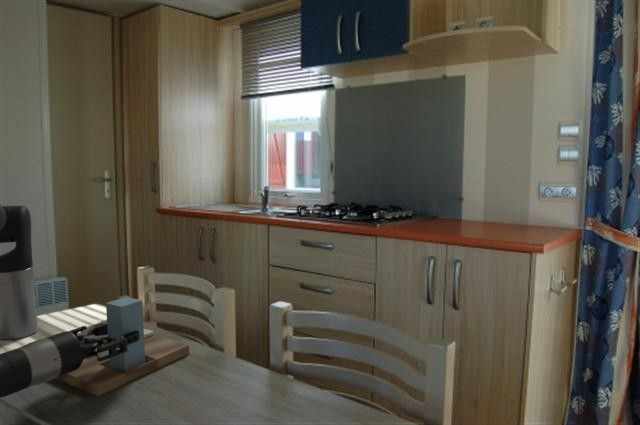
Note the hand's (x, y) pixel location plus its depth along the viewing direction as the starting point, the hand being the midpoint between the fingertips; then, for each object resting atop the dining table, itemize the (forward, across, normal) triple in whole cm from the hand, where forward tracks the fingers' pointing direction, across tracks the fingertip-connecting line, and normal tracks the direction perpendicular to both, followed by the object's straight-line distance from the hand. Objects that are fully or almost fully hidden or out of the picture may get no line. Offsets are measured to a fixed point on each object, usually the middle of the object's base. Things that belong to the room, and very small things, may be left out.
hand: (124, 330), depth 101 cm
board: (+2, +6, +9) cm, 11 cm away
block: (0, 0, +9) cm, 9 cm away
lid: (+9, +12, +7) cm, 16 cm away
